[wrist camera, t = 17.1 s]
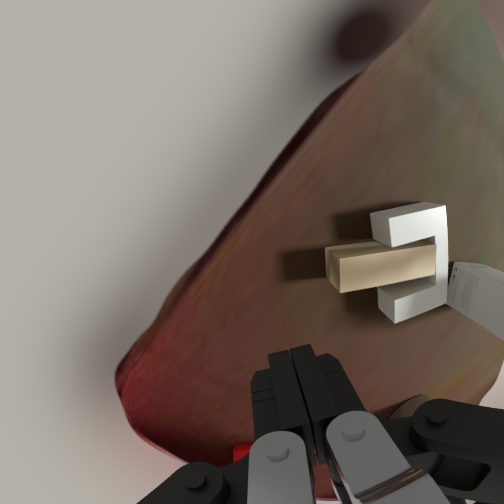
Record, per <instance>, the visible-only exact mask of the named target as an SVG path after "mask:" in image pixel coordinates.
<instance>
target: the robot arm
mask: <svg viewBox="0 0 504 504" xmlns="http://www.w3.org/2000/svg"><path fill="white" fill-rule="evenodd" d="M290 354H291V358H290ZM290 354H289V351H288V350H284V351H280V352H276V353H272V354H268V359H269V365H270V368H269V369H265V370H260V371H256V372H255V374H254V376H253V378H252V380H251V393H252V408H253V421H254V433H255V441H254V444H253V445H252V447H251V449H250V451H249V452H248V453H247V454H246V455H245V456H244V457H243V458H241V459H239V460H237V461H235V462H233V463H230V464H228V465H225V466H222V467H220V468H217V467H216V466H214V465H212V464H210V463H206V462H193V463H189V464H186V465H184V466H182V467H180V468H179V469H178V470H177V471H175V472H174V473H173V474H172V475H171V476H170V477H169V478H167V479H166V480H165V481H164V482H163V483H162V484H160V485H159V486H158V487H157V488H155V489H154V490H153V491H152V492H151V493H149V494H148V495H147V496H146V497H144V498H143V499H142V500H140V501H139V502H138V503H137V504H316V498H315V491H314V487H315V479H314V473H313V468H312V467H315V466H317V460H316V454H317V458H318V461H319V465H322V464H326V463H327V465H328V468H329V472H330V476H331V483H332V486H333V488H334V491H335V493H336V495H337V498H338V500H339V502H340V504H467V503H466V501H465V499H468V500H473V501H476V502H475V503H474V504H504V410H503V409H497V408H490V407H484V406H478V405H472V404H467V403H462V402H457V401H452V400H447V399H433V400H430V399H429V398H428V397H427V396H417V397H414V398H412V399H410V400H408V401H407V402H405V403H404V404H402V405H401V406H400V407H399V408H397V409H396V410H395V411H394V413H393V414H392V415H391V417H390V418H389V419H381V418H377V417H375V416H374V415H373V414H371V413H368V412H367V411H366V409H365V408H364V406H363V404H362V403H361V401H360V399H359V397H358V395H357V393H356V391H355V390H354V388H353V386H352V384H351V382H350V380H349V379H348V377H347V375H346V373H345V371H344V370H343V367H342V366H341V364H340V362H339V360H338V359H336V358H335V357H333V356H332V355H330V354H329V353H326V354H323V355H320V356H315V354H314V351H313V349H312V347H311V345H310V344H307V345H303V346H300V347H296V348H292V349H290ZM291 359H292V361H291ZM314 447H315V448H314ZM315 451H316V454H315Z"/></svg>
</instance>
